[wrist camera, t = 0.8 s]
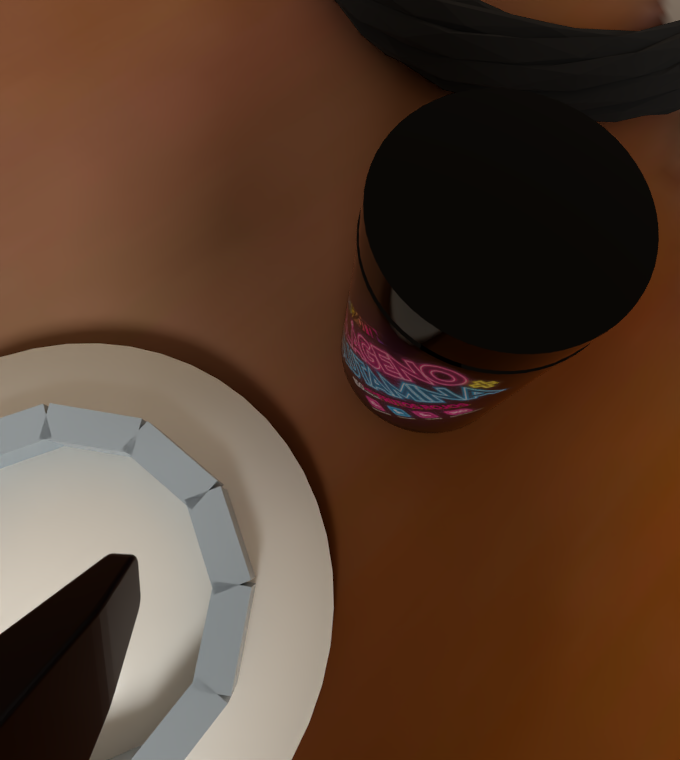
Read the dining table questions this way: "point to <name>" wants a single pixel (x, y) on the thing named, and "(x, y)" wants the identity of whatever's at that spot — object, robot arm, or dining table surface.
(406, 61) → the cable lock
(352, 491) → the dining table surface
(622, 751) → the dining table surface
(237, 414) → the round tray
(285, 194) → the dining table surface
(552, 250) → the supplement container
